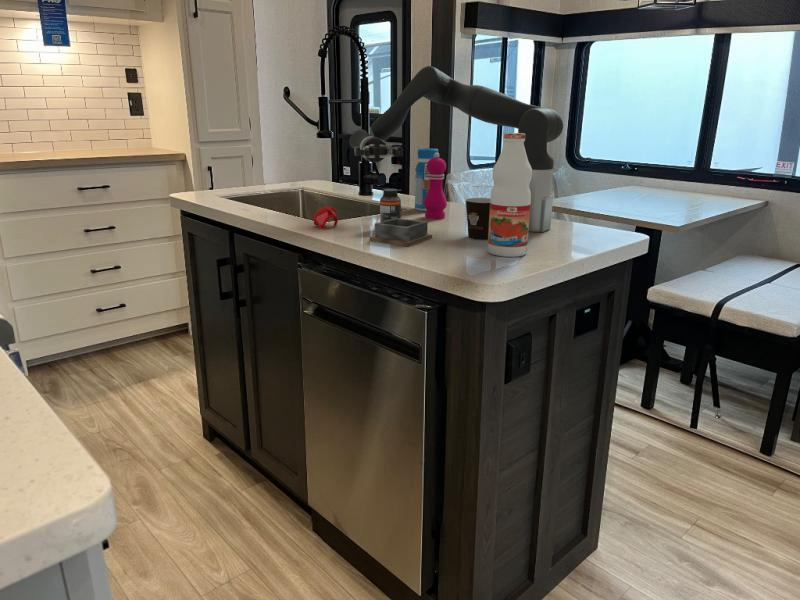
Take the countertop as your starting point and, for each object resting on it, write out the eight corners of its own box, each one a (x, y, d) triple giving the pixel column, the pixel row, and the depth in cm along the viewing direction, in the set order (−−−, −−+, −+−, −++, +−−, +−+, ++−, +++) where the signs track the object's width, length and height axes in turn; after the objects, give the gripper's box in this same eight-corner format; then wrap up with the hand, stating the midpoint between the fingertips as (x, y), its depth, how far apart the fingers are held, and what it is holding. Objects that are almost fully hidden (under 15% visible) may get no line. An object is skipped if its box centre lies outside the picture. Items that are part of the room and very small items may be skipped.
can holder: (432, 238, 164) (432, 221, 162) (408, 246, 154) (409, 229, 153) (394, 233, 170) (394, 217, 168) (369, 240, 160) (369, 223, 159)
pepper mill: (446, 219, 190) (449, 153, 184) (423, 219, 190) (425, 153, 184) (445, 215, 197) (447, 151, 191) (423, 215, 197) (424, 151, 191)
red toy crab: (345, 216, 176) (334, 203, 179) (332, 211, 171) (321, 198, 174) (329, 237, 179) (318, 224, 182) (316, 233, 174) (305, 220, 177)
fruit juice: (526, 249, 152) (535, 132, 144) (527, 258, 144) (536, 134, 135) (488, 247, 154) (494, 132, 145) (486, 256, 145) (493, 133, 136)
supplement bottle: (390, 226, 179) (391, 187, 176) (405, 229, 175) (405, 189, 172) (375, 229, 175) (375, 189, 172) (390, 232, 171) (390, 191, 168)
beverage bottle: (409, 209, 208) (410, 148, 201) (422, 206, 214) (424, 147, 208) (430, 212, 203) (432, 150, 197) (443, 209, 210) (445, 148, 203)
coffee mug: (458, 235, 168) (459, 198, 165) (485, 233, 171) (487, 197, 168) (480, 244, 158) (482, 205, 155) (508, 241, 161) (511, 203, 158)
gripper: (350, 136, 191) (358, 140, 176) (395, 136, 194) (406, 140, 179) (350, 161, 194) (358, 166, 179) (394, 160, 197) (406, 166, 182)
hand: (382, 153), depth 179 cm, fingers open, 8 cm apart
